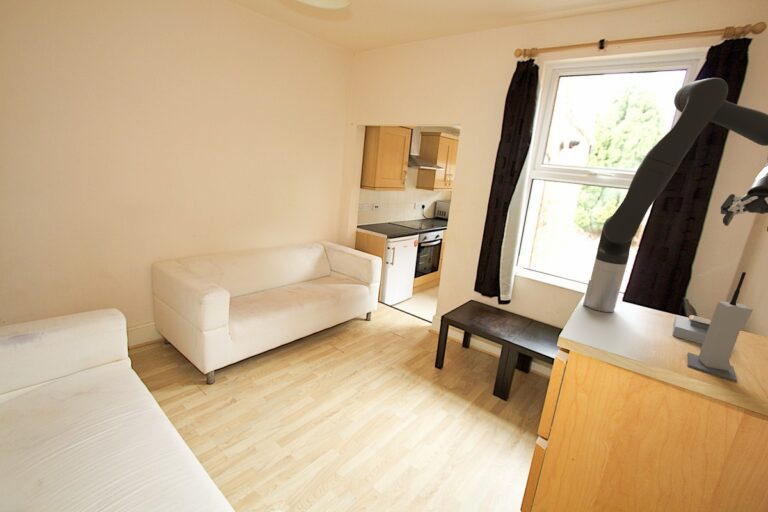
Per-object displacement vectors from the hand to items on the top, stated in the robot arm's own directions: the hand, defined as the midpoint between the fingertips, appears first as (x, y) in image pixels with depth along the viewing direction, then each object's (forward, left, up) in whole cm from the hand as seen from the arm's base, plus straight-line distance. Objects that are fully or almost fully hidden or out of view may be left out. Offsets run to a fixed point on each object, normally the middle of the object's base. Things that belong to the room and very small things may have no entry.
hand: (746, 226), depth 95 cm
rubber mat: (0, -20, -35) cm, 40 cm away
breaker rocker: (-2, +3, -30) cm, 30 cm away
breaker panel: (-2, +2, -35) cm, 35 cm away
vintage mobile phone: (+1, -20, -35) cm, 40 cm away
